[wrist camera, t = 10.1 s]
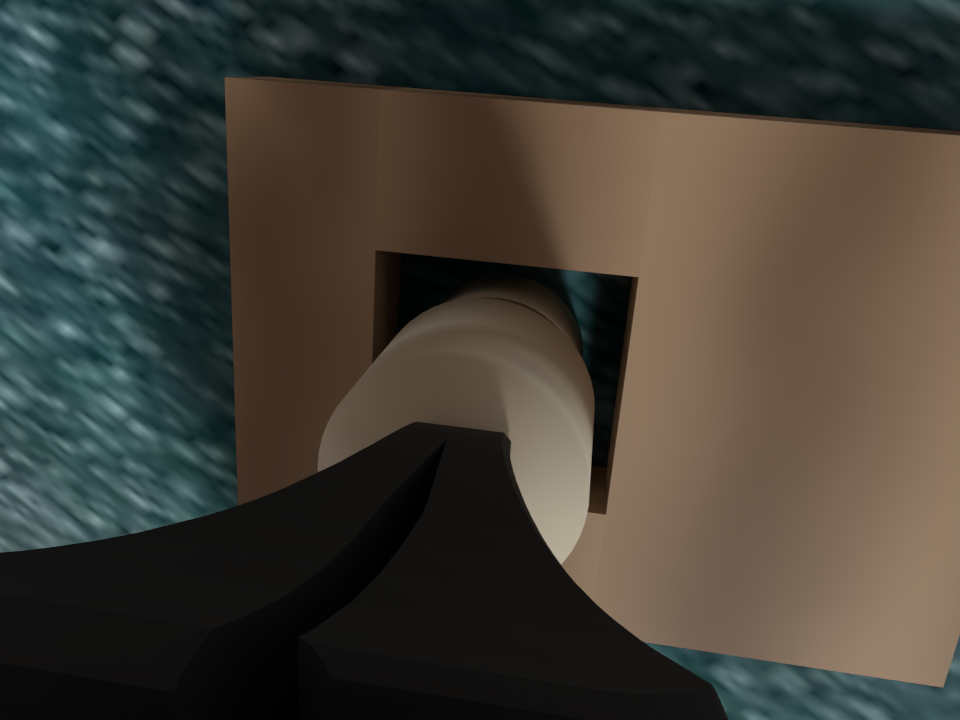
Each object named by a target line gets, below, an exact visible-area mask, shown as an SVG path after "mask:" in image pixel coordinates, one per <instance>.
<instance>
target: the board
mask: <svg viewBox="0 0 960 720" xmlns="http://www.w3.org/2000/svg"><path fill="white" fill-rule="evenodd" d="M225 106H226V138H227V170H228V202H229V235H230V267H231V299H232V331H233V363H234V395H235V428H236V460H237V492H238V505H241V504H244V503H247V502H250V501H253V500H255V499H258V498H261V497H263V496H266V495H268V494H271V493H273V492H276V491H278V490H281V489H283V488H285V487H288V486H290V485H292V484H294V483H296V482H298V481H300V480H302V479H305V478H307V477H309V476H311V475H313V474H315V473H317V472H318V456H319V449H320V445H321V440H322V436H323V434H324V431H325V428H326V426H327V423H328V421H329V419H330V418H331V416H332V414H333V412H334V411H335V409H336V407H337V406H338V405H339V404H340V402H341V401H342V400H343V399H344V397H345V396H346V395H347V394H348V392H349V391H350V390H351V389H352V388H353V386H354V385H355V384H356V383H357V382H358V380H359V379H360V378H361V377H362V376H363V375H364V373H365V372H366V371H367V370H368V369H369V367H370V366H371V365H372V364H373V363H374V361H375V360H376V359H377V358H378V357H379V355H380V354H381V353H382V352H383V351H384V349H385V348H386V347H387V346H388V345H389V343H390V342H391V341H392V340H393V339H394V338H395V336H396V335H397V334H398V320H399V295H400V269H401V253H407V254H417V255H427V256H437V257H446V258H456V259H466V260H476V261H485V262H495V263H505V264H515V265H525V266H534V267H544V268H554V269H564V270H573V271H583V272H593V273H603V274H612V275H622V276H632V283H631V290H630V297H629V305H628V312H627V320H626V327H625V334H624V342H623V349H622V357H621V364H620V371H619V379H618V386H617V394H616V401H615V408H614V416H613V423H612V431H611V438H610V445H609V453H608V460H607V468H605V467H597V466H591V476H590V492H589V507H588V511H587V516H586V521H585V524H584V527H583V529H582V532H581V535H580V537H579V539H578V541H577V543H576V545H575V546H574V548H573V550H572V552H571V553H570V554H569V555H568V557H567V558H566V559H565V561H564V562H563V563H562V564H561V565H562V567H563V568H564V569H565V571H566V572H567V573H568V575H569V576H570V577H571V578H572V579H573V581H574V582H575V583H576V584H577V585H578V586H579V587H580V588H581V589H582V590H583V591H584V592H585V593H586V594H587V595H588V596H589V597H590V598H591V599H592V600H593V601H594V602H595V603H596V604H597V605H598V606H599V607H600V608H601V609H603V610H604V611H605V612H606V613H607V614H608V615H609V616H611V617H612V618H613V619H614V620H615V621H617V622H618V623H619V624H620V625H622V626H623V627H624V628H626V629H627V630H628V631H629V632H631V633H632V634H633V635H635V636H636V637H637V638H638V639H640V640H641V641H642V642H648V643H654V644H661V645H667V646H674V647H680V648H687V649H694V650H700V651H707V652H713V653H720V654H726V655H733V656H740V657H746V658H753V659H759V660H766V661H772V662H779V663H785V664H792V665H799V666H805V667H812V668H818V669H825V670H831V671H838V672H845V673H851V674H858V675H864V676H871V677H877V678H884V679H890V680H897V681H904V682H910V683H917V684H923V685H930V686H936V687H943V686H944V683H945V680H946V676H947V673H948V670H949V667H950V664H951V661H952V658H953V654H954V651H955V648H956V645H957V642H958V639H959V636H960V131H952V130H939V129H927V128H914V127H901V126H889V125H876V124H863V123H851V122H838V121H825V120H813V119H800V118H787V117H775V116H762V115H749V114H737V113H724V112H711V111H699V110H686V109H673V108H661V107H648V106H635V105H623V104H610V103H597V102H585V101H572V100H559V99H546V98H534V97H521V96H508V95H496V94H483V93H470V92H458V91H445V90H432V89H420V88H407V87H394V86H382V85H369V84H356V83H344V82H331V81H318V80H306V79H293V78H280V77H225Z"/></svg>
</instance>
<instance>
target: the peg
mask: <svg viewBox="0 0 960 720" xmlns="http://www.w3.org/2000/svg"><path fill="white" fill-rule="evenodd" d="M594 412H595V402H594V391H593V387H592V383H591V378H590V376H589V373H588V370H587V368H586V365H585V363H584V361H583V341H582V336H581V332H580V329H579V326H578V323H577V321H576V319H575V317H574V315H573V314H572V312H571V310H570V309H569V308H568V306H567V305H566V304H565V303H564V302H563V300H562V299H561V298H560V297H559V296H558V295H556V294H555V293H554V292H553V291H551V290H550V289H548V288H547V287H545V286H544V285H542V284H540V283H538V282H536V281H533V280H531V279H528V278H524V277H521V276H515V275H503V274H500V275H490V276H485V277H481V278H478V279H475V280H472V281H470V282H468V283H466V284H464V285H462V286H461V287H460V288H458V289H457V290H455V291H454V292H453V293H452V294H451V295H450V296H449V297H448V298H447V299H446V300H445V301H444V302H443V304H441V305H438V306H435V307H433V308H431V309H429V310H427V311H425V312H423V313H421V314H420V315H418V316H417V317H416V318H414V319H413V320H411V321H410V322H409V323H408V324H407V325H406V326H405V327H404V328H403V329H402V330H400V332H399V333H398V334H397V335H396V336H395V338H394V339H393V340H392V341H391V342H390V343H389V345H388V346H387V347H386V348H385V349H384V351H383V352H382V353H381V354H380V355H379V357H378V358H377V359H376V360H375V361H374V363H373V364H372V365H371V366H370V367H369V369H368V370H367V371H366V372H365V373H364V375H363V376H362V377H361V378H360V379H359V380H358V382H357V383H356V384H355V385H354V386H353V388H352V389H351V390H350V391H349V392H348V394H347V395H346V396H345V397H344V399H343V400H342V401H341V402H340V404H339V405H338V406H337V407H336V409H335V411H334V412H333V414H332V416H331V418H330V419H329V421H328V423H327V426H326V428H325V431H324V434H323V436H322V440H321V445H320V449H319V456H318V472H319V471H322V470H324V469H326V468H328V467H330V466H332V465H334V464H336V463H338V462H340V461H342V460H344V459H346V458H348V457H349V456H351V455H353V454H355V453H357V452H359V451H360V450H362V449H364V448H366V447H368V446H370V445H371V444H373V443H375V442H377V441H379V440H380V439H382V438H384V437H386V436H388V435H389V434H391V433H393V432H395V431H397V430H398V429H400V428H402V427H404V426H406V425H408V424H411V423H413V422H424V423H432V424H440V425H448V426H456V427H464V428H472V429H480V430H487V431H495V432H503V433H505V434H506V436H507V437H508V438H509V439H510V441H511V451H510V459H511V463H512V468H513V472H514V475H515V478H516V481H517V484H518V486H519V489H520V491H521V494H522V497H523V499H524V502H525V504H526V506H527V508H528V510H529V513H530V515H531V517H532V519H533V520H534V522H535V524H536V526H537V528H538V530H539V532H540V533H541V535H542V537H543V539H544V540H545V542H546V544H547V545H548V547H549V548H550V550H551V551H552V553H553V554H554V556H555V557H556V558H557V560H558V561H559V563H560V564H562V563H563V562H564V561H565V559H566V558H567V557H568V555H569V554H570V553H571V552H572V550H573V548H574V546H575V545H576V543H577V541H578V539H579V537H580V535H581V532H582V529H583V527H584V524H585V521H586V516H587V511H588V507H589V492H590V476H591V460H592V444H593V428H594Z"/></svg>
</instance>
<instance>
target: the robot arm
mask: <svg viewBox="0 0 960 720" xmlns="http://www.w3.org/2000/svg"><path fill="white" fill-rule="evenodd" d="M510 451H511V441H510V439H509V438H508V437H507V436H506V434H505V433H503V432H495V431H487V430H480V429H472V428H464V427H456V426H448V425H440V424H432V423H424V422H413V423H411V424H408V425H406V426H404V427H402V428H400V429H398V430H397V431H395V432H393V433H391V434H389V435H388V436H386V437H384V438H382V439H380V440H379V441H377V442H375V443H373V444H371V445H370V446H368V447H366V448H364V449H362V450H360V451H359V452H357V453H355V454H353V455H351V456H349V457H348V458H346V459H344V460H342V461H340V462H338V463H336V464H334V465H332V466H330V467H328V468H326V469H324V470H322V471H319V472H317V473H315V474H313V475H311V476H309V477H307V478H305V479H302V480H300V481H298V482H296V483H294V484H292V485H290V486H288V487H285V488H283V489H281V490H278V491H276V492H273V493H271V494H268V495H266V496H263V497H261V498H258V499H255V500H253V501H250V502H247V503H244V504H241V505H238V506H235V507H232V508H229V509H226V510H223V511H220V512H217V513H214V514H210V515H207V516H203V517H199V518H195V519H191V520H187V521H183V522H179V523H175V524H171V525H167V526H163V527H160V528H156V529H152V530H148V531H144V532H139V533H135V534H130V535H125V536H119V537H114V538H108V539H103V540H97V541H92V542H85V543H78V544H71V545H64V546H58V547H51V548H43V549H34V550H26V551H16V552H3V553H0V720H728V718H727V715H726V713H725V711H724V708H723V706H722V704H721V701H720V699H719V697H718V695H717V692H716V691H715V689H714V688H713V686H712V685H711V684H710V683H708V682H707V681H705V680H703V679H702V678H700V677H698V676H697V675H695V674H694V673H692V672H690V671H689V670H687V669H685V668H684V667H682V666H680V665H679V664H677V663H675V662H674V661H672V660H671V659H669V658H667V657H666V656H664V655H662V654H661V653H659V652H657V651H656V650H654V649H653V648H651V647H649V646H648V645H647V644H645V643H644V642H642V641H641V640H640V639H638V638H637V637H636V636H635V635H633V634H632V633H631V632H629V631H628V630H627V629H626V628H624V627H623V626H622V625H620V624H619V623H618V622H617V621H615V620H614V619H613V618H612V617H611V616H609V615H608V614H607V613H606V612H605V611H604V610H603V609H601V608H600V607H599V606H598V605H597V604H596V603H595V602H594V601H593V600H592V599H591V598H590V597H589V596H588V595H587V594H586V593H585V592H584V591H583V590H582V589H581V588H580V587H579V586H578V585H577V584H576V583H575V582H574V581H573V579H572V578H571V577H570V576H569V575H568V573H567V572H566V571H565V569H564V568H563V567H562V565H561V564H560V563H559V561H558V560H557V558H556V557H555V556H554V554H553V553H552V551H551V550H550V548H549V547H548V545H547V544H546V542H545V540H544V539H543V537H542V535H541V533H540V532H539V530H538V528H537V526H536V524H535V522H534V520H533V519H532V517H531V515H530V513H529V510H528V508H527V506H526V504H525V502H524V499H523V497H522V494H521V491H520V489H519V486H518V484H517V481H516V478H515V475H514V472H513V468H512V463H511V459H510Z"/></svg>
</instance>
